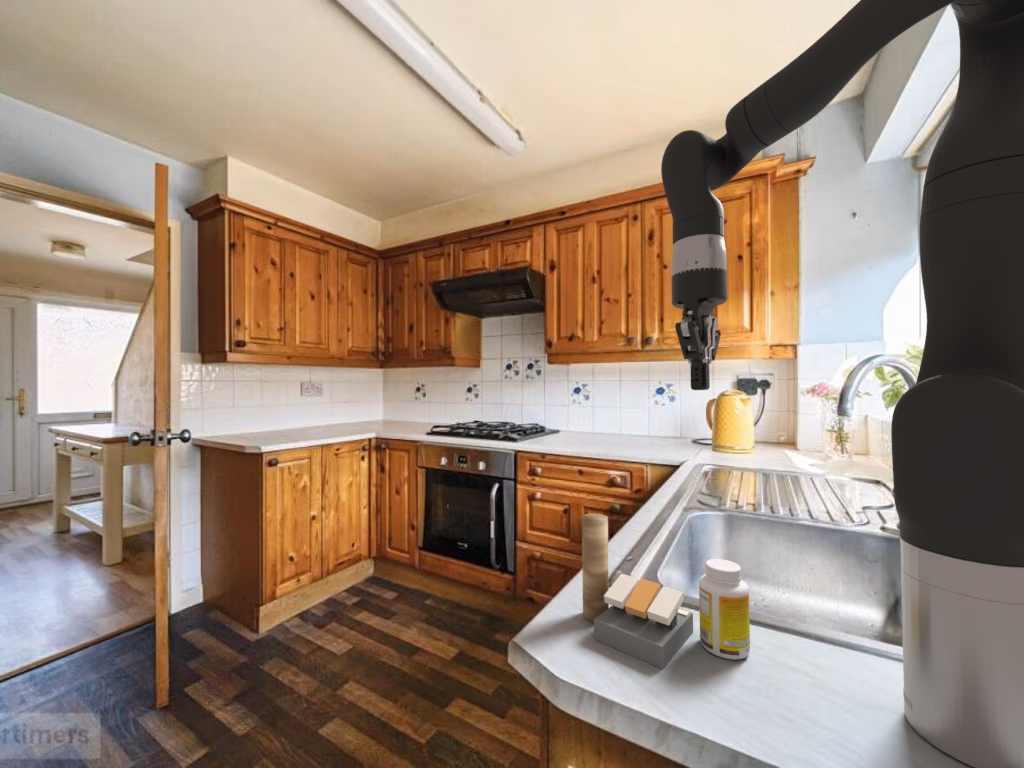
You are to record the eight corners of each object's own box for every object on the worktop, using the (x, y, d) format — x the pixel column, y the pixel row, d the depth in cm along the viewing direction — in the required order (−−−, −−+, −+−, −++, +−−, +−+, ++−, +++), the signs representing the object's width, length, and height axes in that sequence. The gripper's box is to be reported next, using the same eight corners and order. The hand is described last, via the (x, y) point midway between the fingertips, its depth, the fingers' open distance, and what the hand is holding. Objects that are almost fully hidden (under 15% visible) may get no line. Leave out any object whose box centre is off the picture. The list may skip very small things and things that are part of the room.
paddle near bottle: (684, 602, 55) (683, 592, 54) (669, 628, 51) (668, 618, 51) (664, 595, 56) (663, 586, 56) (648, 621, 53) (647, 611, 52)
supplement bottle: (757, 649, 52) (756, 565, 53) (738, 668, 49) (736, 578, 49) (712, 630, 57) (711, 552, 57) (691, 646, 53) (690, 563, 53)
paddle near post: (640, 588, 59) (639, 578, 58) (623, 612, 55) (621, 602, 55) (623, 582, 60) (621, 573, 60) (605, 605, 57) (603, 595, 56)
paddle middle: (661, 593, 57) (659, 583, 56) (645, 621, 53) (643, 612, 53) (643, 587, 58) (641, 578, 58) (626, 614, 55) (624, 605, 54)
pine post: (613, 616, 60) (612, 516, 61) (600, 626, 58) (599, 522, 58) (591, 607, 63) (590, 512, 63) (577, 617, 60) (577, 517, 60)
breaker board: (693, 632, 56) (692, 602, 56) (662, 669, 49) (662, 634, 49) (629, 609, 62) (629, 582, 62) (593, 639, 55) (593, 608, 55)
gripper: (711, 256, 56) (713, 389, 55) (738, 277, 66) (740, 389, 65) (655, 268, 61) (656, 390, 60) (688, 285, 71) (690, 390, 70)
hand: (700, 389), depth 63 cm, fingers closed
